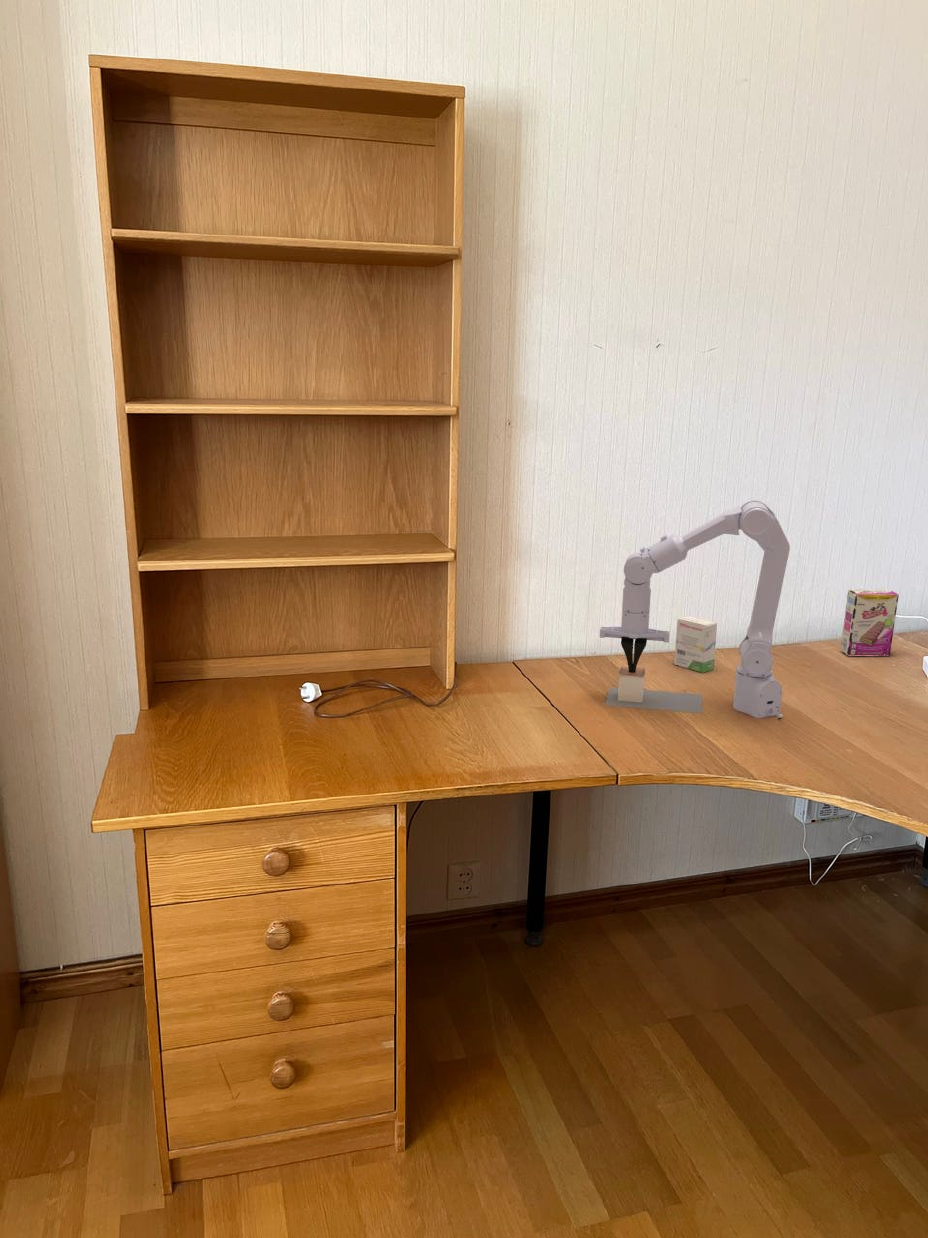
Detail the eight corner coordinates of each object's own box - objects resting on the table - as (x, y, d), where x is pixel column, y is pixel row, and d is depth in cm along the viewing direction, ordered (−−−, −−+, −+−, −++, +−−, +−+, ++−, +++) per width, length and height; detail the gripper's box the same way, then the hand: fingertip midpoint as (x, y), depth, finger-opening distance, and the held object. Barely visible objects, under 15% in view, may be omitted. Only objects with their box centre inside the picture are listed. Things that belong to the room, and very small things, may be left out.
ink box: (714, 669, 232) (718, 622, 229) (702, 673, 229) (706, 625, 225) (685, 661, 238) (689, 614, 235) (673, 664, 235) (676, 618, 232)
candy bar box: (848, 657, 242) (855, 593, 238) (839, 651, 247) (846, 589, 243) (891, 657, 243) (899, 593, 238) (882, 651, 248) (889, 588, 243)
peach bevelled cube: (643, 694, 211) (645, 668, 209) (642, 702, 206) (644, 675, 204) (619, 692, 212) (621, 666, 210) (617, 700, 207) (619, 673, 205)
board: (701, 698, 211) (701, 694, 211) (702, 717, 200) (702, 713, 200) (609, 691, 216) (609, 686, 215) (604, 709, 204) (605, 705, 204)
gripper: (599, 612, 201) (596, 674, 205) (670, 617, 198) (666, 680, 202) (602, 604, 208) (599, 664, 212) (671, 608, 205) (667, 669, 208)
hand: (632, 671), depth 207 cm, fingers closed, pressing on peach bevelled cube
